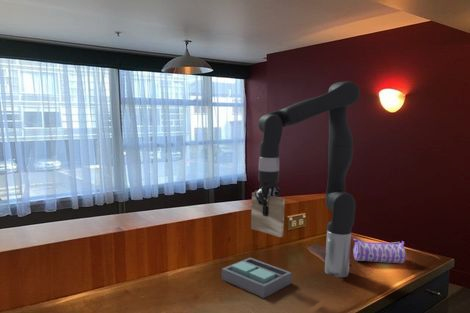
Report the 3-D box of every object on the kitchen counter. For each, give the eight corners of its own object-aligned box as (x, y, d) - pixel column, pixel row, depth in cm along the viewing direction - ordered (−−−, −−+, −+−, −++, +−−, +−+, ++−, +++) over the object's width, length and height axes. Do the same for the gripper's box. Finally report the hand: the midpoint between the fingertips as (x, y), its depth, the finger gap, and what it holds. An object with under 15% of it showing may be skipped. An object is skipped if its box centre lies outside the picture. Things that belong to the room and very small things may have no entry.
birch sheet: (253, 227, 145) (254, 192, 144) (283, 236, 136) (284, 198, 134) (251, 228, 144) (252, 192, 143) (280, 237, 135) (282, 199, 133)
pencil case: (399, 258, 168) (401, 237, 167) (408, 266, 159) (410, 244, 158) (350, 256, 169) (351, 236, 167) (356, 265, 159) (358, 243, 158)
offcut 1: (242, 273, 144) (242, 261, 144) (256, 279, 139) (256, 266, 139) (231, 278, 140) (231, 265, 139) (245, 284, 135) (245, 271, 134)
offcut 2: (259, 281, 138) (259, 267, 138) (274, 287, 134) (275, 273, 133) (248, 286, 134) (249, 272, 133) (264, 292, 129) (264, 278, 129)
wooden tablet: (302, 244, 180) (321, 240, 183) (302, 248, 180) (321, 245, 183) (330, 266, 155) (352, 261, 157) (331, 271, 155) (352, 266, 158)
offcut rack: (249, 269, 151) (250, 257, 150) (291, 286, 137) (291, 272, 137) (221, 282, 139) (221, 268, 139) (263, 301, 126) (264, 286, 125)
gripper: (265, 172, 130) (263, 221, 132) (288, 168, 140) (286, 214, 142) (248, 169, 135) (247, 216, 137) (272, 166, 145) (270, 210, 147)
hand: (267, 215), depth 139 cm, fingers closed on birch sheet, 1 cm apart
